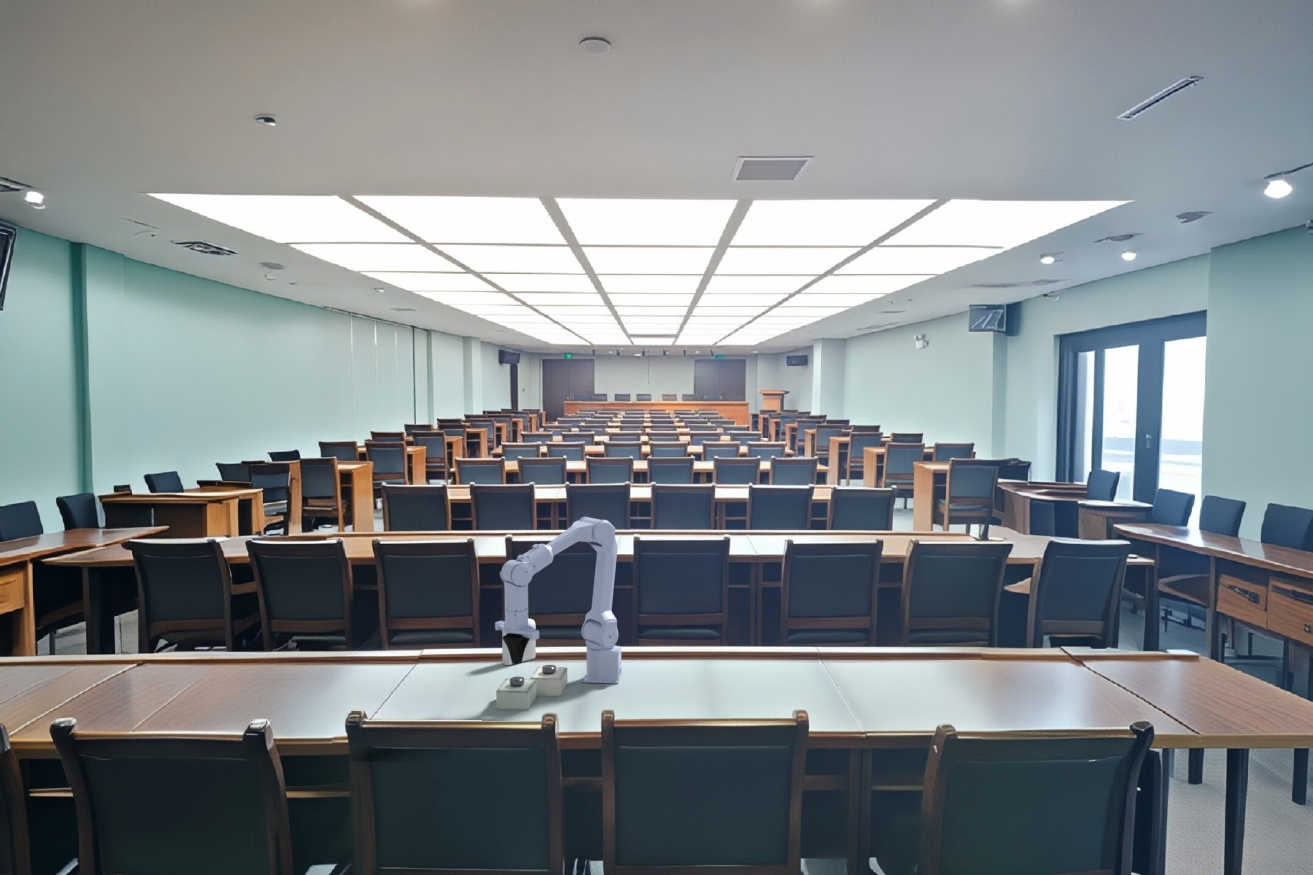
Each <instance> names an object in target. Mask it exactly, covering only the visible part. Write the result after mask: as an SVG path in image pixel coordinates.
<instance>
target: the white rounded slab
mask: <svg viewBox="0 0 1313 875" xmlns="http://www.w3.org/2000/svg"><path fill="white" fill-rule="evenodd" d="M528 625H529V626H531V627H532V628H534V629H535V630H537V629H536V628H537V627H536V621H535V620H534V619H532V618H528ZM501 632H502V631H501ZM501 634H502V644H501V645H502V649H501V652H502V653H501V654H502V658H501V659H502V664H503V665H505V666H512V665H513V664H512V661H511V657H510V653H509V650H508V648H507V645H506V643H505V642H504V640H503V636H505V635H507V633H503V632H502V633H501ZM536 642H537V639H536V640H531V639H530V640H529V641H528V643H527V646H526V648H525V651H524V655H523V659H522V663H523V662H526V661H531V660H534V659H535V658H536V654H537V653H536V652H537V650H536V646H537V645H536V644H537V643H536Z"/></svg>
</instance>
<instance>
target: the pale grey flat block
mask: <svg viewBox="0 0 1313 875" xmlns="http://www.w3.org/2000/svg"><path fill="white" fill-rule="evenodd" d="M495 691H496V700H495V701H496V709H497V710H523V711H524V710H525V711H526V710H528V711H529V709H530V708H531V707H532V705H533V703H534V702H535V701H536V699H537V698H538V695H537V679H530V678H524V684H522V685H519V687H515V686H512V685H510V678H505V679H504V681H502V683H501V684H500V686H499V687H498V688H497V689H496V690H495Z"/></svg>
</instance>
